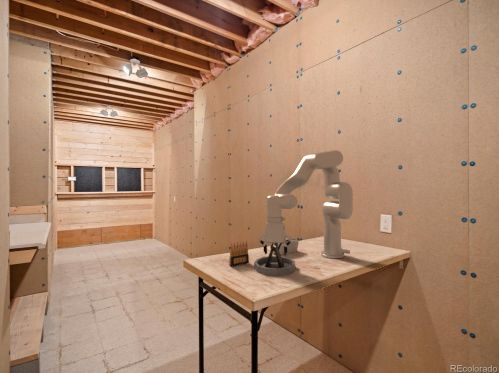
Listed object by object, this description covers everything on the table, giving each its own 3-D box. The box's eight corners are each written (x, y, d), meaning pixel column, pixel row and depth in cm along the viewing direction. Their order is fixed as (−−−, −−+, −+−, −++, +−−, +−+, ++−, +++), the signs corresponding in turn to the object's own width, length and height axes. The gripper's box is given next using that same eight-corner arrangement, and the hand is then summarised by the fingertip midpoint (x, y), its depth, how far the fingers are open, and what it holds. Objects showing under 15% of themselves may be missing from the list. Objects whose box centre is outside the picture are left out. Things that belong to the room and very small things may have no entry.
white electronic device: (291, 249, 162) (295, 235, 159) (296, 253, 158) (300, 238, 155) (272, 254, 151) (276, 239, 148) (277, 258, 148) (282, 243, 145)
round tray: (296, 262, 135) (295, 257, 135) (293, 276, 115) (293, 270, 115) (258, 260, 139) (258, 255, 139) (250, 273, 120) (250, 267, 120)
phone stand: (284, 265, 129) (284, 242, 129) (282, 269, 123) (282, 244, 123) (266, 264, 131) (266, 241, 131) (264, 268, 126) (264, 244, 125)
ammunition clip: (230, 266, 130) (230, 243, 130) (229, 265, 132) (228, 242, 131) (249, 263, 135) (248, 240, 135) (247, 262, 137) (247, 240, 137)
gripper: (292, 218, 128) (293, 252, 129) (258, 218, 132) (259, 251, 133) (291, 221, 121) (292, 256, 122) (256, 221, 125) (257, 255, 126)
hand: (275, 253), depth 127 cm, fingers open, 9 cm apart
